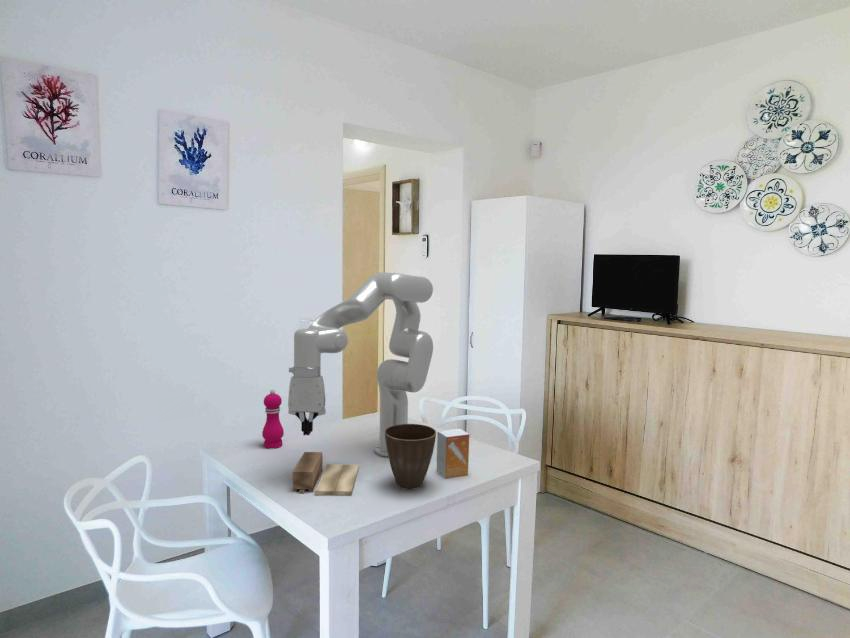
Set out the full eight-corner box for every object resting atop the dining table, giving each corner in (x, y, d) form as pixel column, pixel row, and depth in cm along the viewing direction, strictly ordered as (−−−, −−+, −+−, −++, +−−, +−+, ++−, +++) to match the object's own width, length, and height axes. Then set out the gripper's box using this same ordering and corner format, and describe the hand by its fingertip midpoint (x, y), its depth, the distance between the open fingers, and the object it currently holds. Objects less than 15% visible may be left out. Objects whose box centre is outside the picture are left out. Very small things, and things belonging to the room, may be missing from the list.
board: (359, 468, 172) (359, 464, 172) (351, 495, 152) (351, 491, 152) (312, 467, 172) (312, 464, 172) (298, 494, 152) (298, 490, 152)
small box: (445, 479, 165) (446, 436, 164) (436, 471, 171) (436, 430, 170) (468, 475, 169) (469, 433, 167) (459, 467, 174) (460, 427, 173)
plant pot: (445, 487, 159) (446, 433, 157) (402, 499, 150) (403, 443, 149) (416, 471, 171) (417, 421, 169) (374, 481, 162) (375, 428, 161)
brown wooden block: (322, 470, 170) (322, 452, 170) (312, 492, 154) (312, 471, 154) (304, 470, 170) (304, 451, 170) (292, 492, 154) (292, 471, 154)
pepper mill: (257, 447, 190) (257, 390, 188) (271, 441, 196) (270, 386, 194) (275, 450, 187) (274, 392, 185) (288, 444, 194) (287, 388, 192)
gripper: (278, 374, 155) (278, 437, 157) (331, 375, 155) (330, 438, 157) (284, 369, 162) (284, 429, 164) (335, 370, 163) (334, 430, 164)
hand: (307, 433), depth 161 cm, fingers closed
